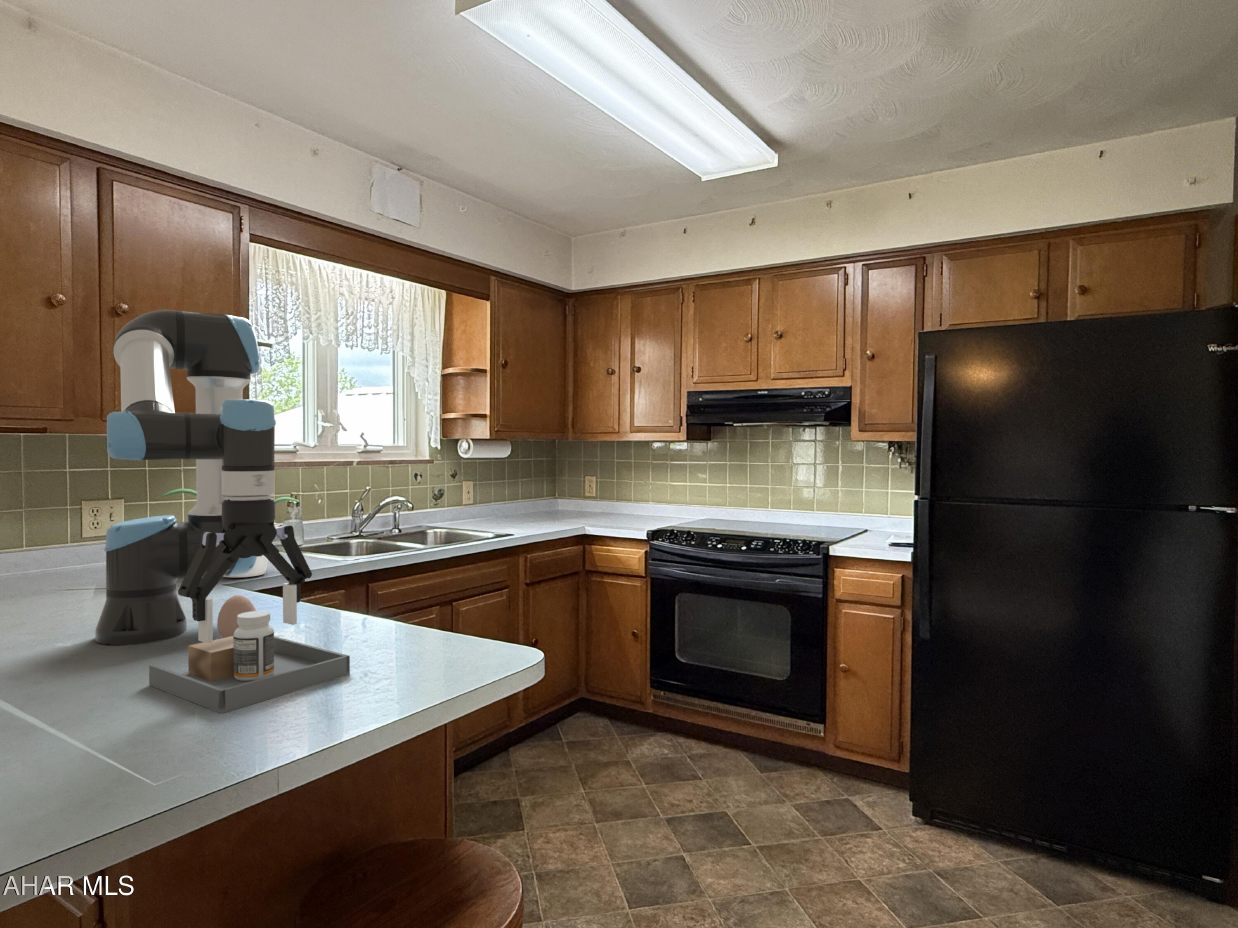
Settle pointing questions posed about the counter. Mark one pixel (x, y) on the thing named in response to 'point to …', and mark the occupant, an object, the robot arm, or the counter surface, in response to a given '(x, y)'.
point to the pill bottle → (253, 646)
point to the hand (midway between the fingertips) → (249, 632)
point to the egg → (232, 614)
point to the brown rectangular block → (212, 659)
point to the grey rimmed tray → (291, 673)
